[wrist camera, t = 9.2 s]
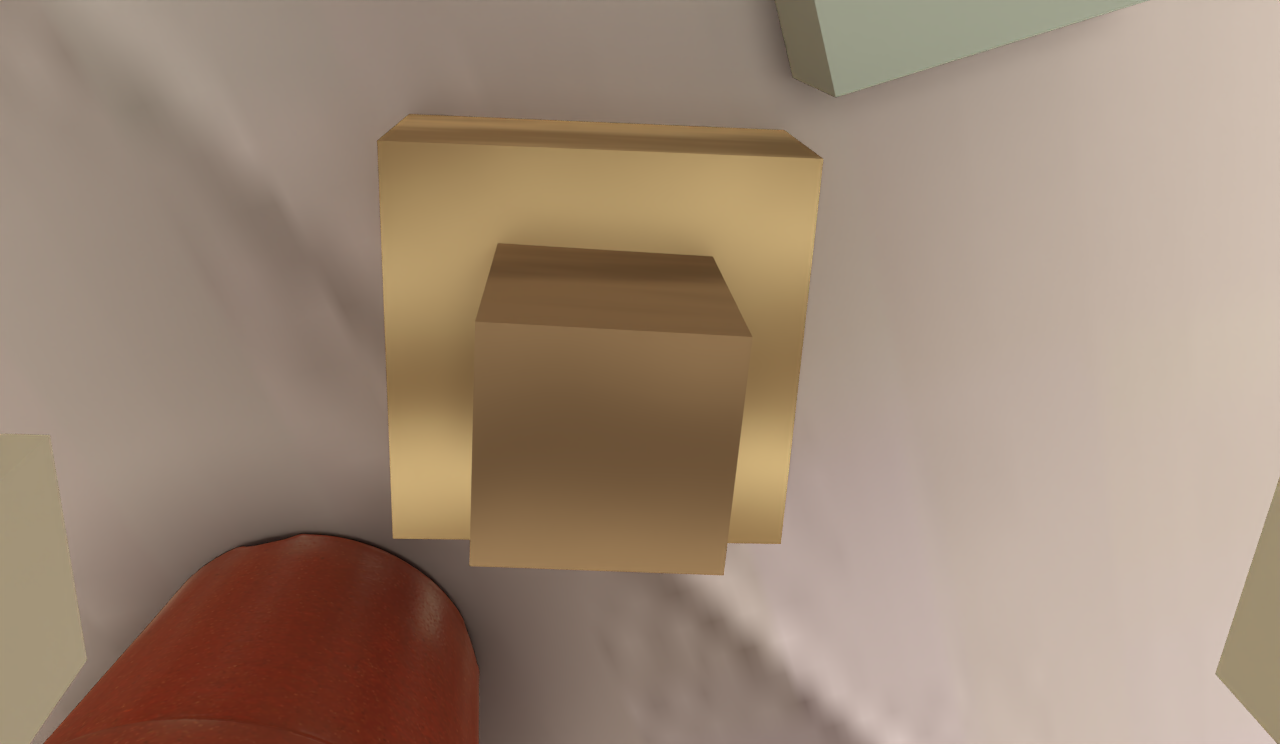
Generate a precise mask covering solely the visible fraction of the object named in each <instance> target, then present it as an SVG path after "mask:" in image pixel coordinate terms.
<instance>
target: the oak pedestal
mask: <svg viewBox="0 0 1280 744" xmlns="http://www.w3.org/2000/svg"><path fill="white" fill-rule="evenodd" d="M377 146H378V172H379V197H380V223H381V248H382V274H383V299H384V325H385V350H386V376H387V401H388V427H389V452H390V478H391V503H392V529H393V538H395V539H468V540H470V518H471V475H472V432H473V389H474V346H475V320H476V317H477V313H478V310H479V306H480V303H481V299H482V296H483V292H484V289H485V286H486V282H487V279H488V275H489V272H490V268H491V265H492V261H493V258H494V254H495V251H496V247H497V244H498V243H503V244H519V245H535V246H551V247H568V248H584V249H600V250H616V251H633V252H649V253H665V254H681V255H697V256H713V258H714V260H715V262H716V264H717V266H718V268H719V270H720V272H721V274H722V276H723V278H724V280H725V282H726V284H727V286H728V288H729V290H730V292H731V294H732V296H733V298H734V300H735V302H736V304H737V306H738V308H739V310H740V313H741V315H742V317H743V319H744V321H745V323H746V325H747V327H748V329H749V331H750V333H751V335H752V337H753V338H752V346H751V354H750V363H749V371H748V379H747V387H746V395H745V404H744V412H743V420H742V428H741V436H740V444H739V453H738V461H737V469H736V477H735V485H734V494H733V502H732V510H731V518H730V526H729V534H728V543H760V544H781V536H782V527H783V518H784V509H785V500H786V491H787V482H788V473H789V464H790V455H791V446H792V437H793V428H794V419H795V410H796V401H797V392H798V383H799V374H800V365H801V356H802V347H803V338H804V329H805V320H806V311H807V302H808V293H809V284H810V275H811V266H812V257H813V248H814V239H815V230H816V221H817V212H818V202H819V193H820V184H821V175H822V166H823V158H821V157H820V156H819V155H817V154H816V153H815V152H813V151H812V150H811V149H809V148H808V147H807V146H805V145H804V144H802V143H801V142H800V141H798V140H797V139H796V138H794V137H793V136H792V135H790V134H789V133H788V132H786V131H785V130H770V129H747V128H723V127H700V126H677V125H653V124H630V123H606V122H583V121H560V120H536V119H513V118H489V117H466V116H443V115H419V114H409V115H407V116H406V117H405V118H404V119H403V120H401V121H400V122H399V123H398V124H397V125H395V126H394V127H393V128H392V129H391V130H389V131H388V132H387V133H386V134H385V135H383V136H382V137H381V138H380V139H379V140H377Z"/></svg>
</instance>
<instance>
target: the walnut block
mask: <svg viewBox="0 0 1280 744" xmlns="http://www.w3.org/2000/svg"><path fill="white" fill-rule="evenodd" d="M752 338H753V337H752V335H751V333H750V331H749V329H748V327H747V325H746V323H745V321H744V319H743V317H742V315H741V313H740V310H739V308H738V306H737V304H736V302H735V300H734V298H733V296H732V294H731V292H730V290H729V288H728V286H727V284H726V282H725V280H724V278H723V276H722V274H721V272H720V270H719V268H718V266H717V264H716V262H715V260H714V258H713V256H697V255H681V254H665V253H649V252H633V251H616V250H600V249H584V248H568V247H551V246H535V245H519V244H503V243H498V244H497V247H496V251H495V254H494V258H493V261H492V265H491V268H490V272H489V275H488V279H487V282H486V286H485V289H484V292H483V296H482V299H481V303H480V306H479V310H478V313H477V317H476V320H475V346H474V389H473V432H472V475H471V518H470V561H469V566H483V567H511V568H538V569H566V570H593V571H621V572H649V573H676V574H704V575H724V567H725V559H726V551H727V543H728V534H729V526H730V518H731V510H732V502H733V494H734V485H735V477H736V469H737V461H738V453H739V444H740V436H741V428H742V420H743V412H744V404H745V395H746V387H747V379H748V371H749V363H750V354H751V346H752Z"/></svg>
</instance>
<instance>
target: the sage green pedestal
mask: <svg viewBox="0 0 1280 744" xmlns="http://www.w3.org/2000/svg"><path fill="white" fill-rule="evenodd" d="M1145 1H1148V0H775V4H776V8H777V12H778V16H779V21H780V25H781V29H782V33H783V38H784V42H785V46H786V51H787V55H788V59H789V63H790V68H791V72H792V76H793V78H795V79H797V80H799V81H801V82H803V83H805V84H808V85H810V86H812V87H814V88H816V89H818V90H821V91H823V92H825V93H827V94H829V95H831V96H834V97H839V96H843V95H846V94H849V93H852V92H856V91H859V90H862V89H865V88H868V87H872V86H875V85H878V84H881V83H884V82H888V81H891V80H894V79H897V78H901V77H904V76H907V75H910V74H913V73H917V72H920V71H923V70H926V69H930V68H933V67H936V66H939V65H942V64H946V63H949V62H952V61H955V60H958V59H962V58H965V57H968V56H971V55H975V54H978V53H981V52H984V51H987V50H991V49H994V48H997V47H1000V46H1003V45H1007V44H1010V43H1013V42H1016V41H1020V40H1023V39H1026V38H1029V37H1032V36H1036V35H1039V34H1042V33H1045V32H1048V31H1052V30H1055V29H1058V28H1061V27H1065V26H1068V25H1071V24H1074V23H1077V22H1081V21H1084V20H1087V19H1090V18H1093V17H1097V16H1100V15H1103V14H1106V13H1110V12H1113V11H1116V10H1119V9H1122V8H1126V7H1129V6H1132V5H1135V4H1138V3H1142V2H1145Z"/></svg>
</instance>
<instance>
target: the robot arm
mask: <svg viewBox="0 0 1280 744" xmlns="http://www.w3.org/2000/svg"><path fill="white" fill-rule="evenodd" d="M86 661H87V657H86V651H85V645H84V639H83V633H82V627H81V621H80V615H79V609H78V603H77V597H76V590H75V584H74V578H73V572H72V566H71V560H70V554H69V548H68V542H67V536H66V530H65V524H64V518H63V512H62V506H61V500H60V493H59V487H58V481H57V475H56V469H55V463H54V457H53V451H52V445H51V439H50V435H31V434H0V744H30V743H31V741H32V740H33V738H34V737H35V735H36V734H37V732H38V731H39V729H40V728H41V726H42V725H43V724H44V722H45V721H46V719H47V718H48V716H49V715H50V713H51V712H52V710H53V709H54V707H55V706H56V705H57V703H58V702H59V700H60V699H61V697H62V696H63V694H64V693H65V691H66V690H67V688H68V687H69V685H70V684H71V683H72V681H73V680H74V678H75V677H76V675H77V674H78V672H79V671H80V669H81V668H82V666H83V665H84V664H85V662H86ZM1215 674H1216V675H1217V676H1218V677H1219V679H1220V680H1221V681H1222V682H1223V683H1224V684H1225V685H1226V686H1227V688H1228V689H1229V690H1230V691H1231V692H1232V693H1233V694H1234V695H1235V697H1236V698H1237V699H1238V700H1239V701H1240V702H1241V703H1242V704H1243V706H1244V707H1245V708H1246V709H1247V710H1248V711H1249V712H1250V713H1251V715H1252V716H1253V717H1254V718H1255V719H1256V720H1257V721H1258V722H1259V724H1260V725H1261V726H1262V727H1263V728H1264V729H1265V730H1266V731H1267V733H1268V734H1269V735H1270V736H1271V737H1272V738H1273V739H1274V740H1275V742H1276V743H1277V744H1280V478H1279V481H1278V484H1277V487H1276V490H1275V493H1274V496H1273V499H1272V502H1271V505H1270V508H1269V511H1268V514H1267V517H1266V521H1265V524H1264V527H1263V530H1262V533H1261V536H1260V539H1259V542H1258V545H1257V548H1256V551H1255V554H1254V557H1253V560H1252V563H1251V566H1250V569H1249V573H1248V576H1247V579H1246V582H1245V585H1244V588H1243V591H1242V594H1241V597H1240V600H1239V603H1238V606H1237V609H1236V612H1235V615H1234V618H1233V621H1232V625H1231V628H1230V631H1229V634H1228V637H1227V640H1226V643H1225V646H1224V649H1223V652H1222V655H1221V658H1220V661H1219V664H1218V667H1217V670H1216V673H1215Z"/></svg>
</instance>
